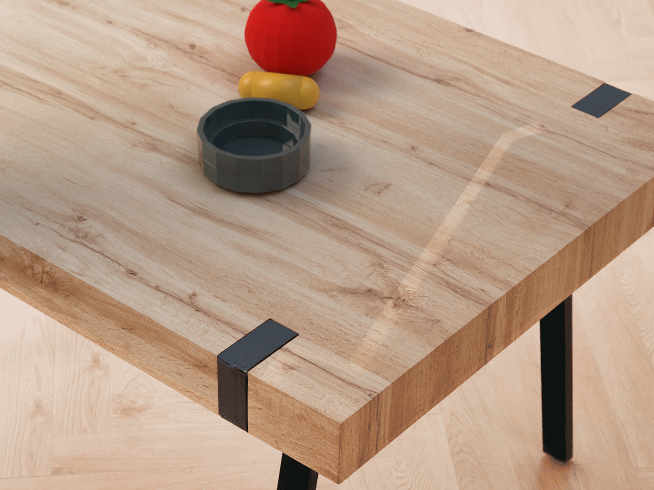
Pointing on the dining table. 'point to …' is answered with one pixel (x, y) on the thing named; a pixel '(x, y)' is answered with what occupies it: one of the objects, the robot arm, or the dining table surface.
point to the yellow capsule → (280, 88)
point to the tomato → (290, 36)
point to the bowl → (254, 144)
